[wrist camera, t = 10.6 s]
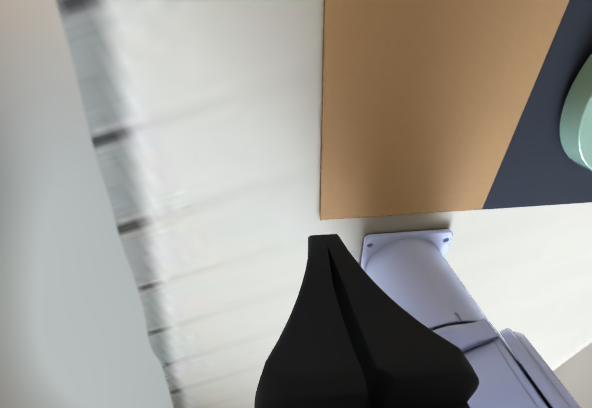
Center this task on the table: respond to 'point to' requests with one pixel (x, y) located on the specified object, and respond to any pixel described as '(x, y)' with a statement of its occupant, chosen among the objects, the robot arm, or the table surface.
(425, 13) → the desk mat
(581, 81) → the plate
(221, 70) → the table surface
